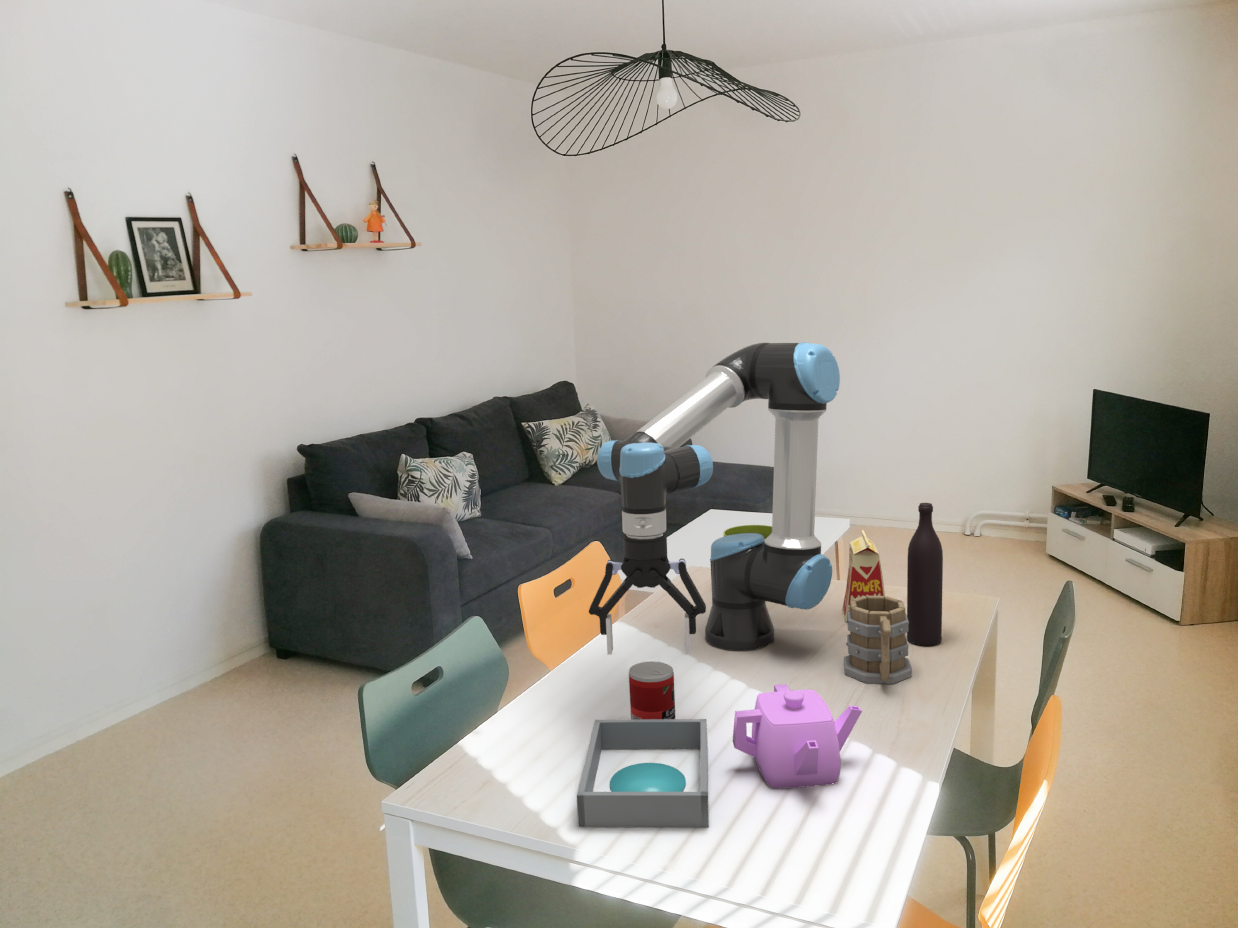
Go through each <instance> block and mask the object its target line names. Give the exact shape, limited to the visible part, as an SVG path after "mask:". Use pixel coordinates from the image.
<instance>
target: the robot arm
mask: <svg viewBox="0 0 1238 928" xmlns="http://www.w3.org/2000/svg"><path fill="white" fill-rule="evenodd" d="M840 380H841V377H840V368H839V364H838V361H837V359H836V357H835V356H834V355H833V352H832V351H831V350H830V349H829V347H827V346H826V345H824V344H820V343H811V342H759V343H753V344H751V345H748V346H745V347H743V348H741V349H738V350H737V351H735V352H733V353H731V354H729V355H727V356H725V357H724V358H723V359H721V360H720V361H719V362H717V363H716V364H714V365H713V366H712V367H710V368H709V369H708V371H707V372H706V374H705V378H704V379H703V380H702V381H700V382H699V383H698V384H696V385H695V386H693V388H691V389H690V390H688V391H687V392H686V393H685V394H684V395H682V396H681V397H680V398H678V399H676V401H674V402H673V403H672V404H670V405H669V406H667V408H665V409H664V410H662V411H661V412H660V413H658V415H655V417H653V418H652V419H651V420H650V421H648V422H647V423H646V424H645V425H643V426H642V427H640V428H639V429H638V430H637V431H635V432H634V433H632V434H631V435H630V436H628V437H627V438H626V439H623V440H620V439H616V440H608V441H606V442H604V443H603V445H601V446H600V449H599V450H598V453H597V457H596V462H597V468H598V470H599V472H600V474H601V475H602V477H604V478H605V479H607V480H612V481H616V482H619V483H620V494H621V518H622V519H621V522H622V523H621V524H622V525H621V526H622V532H623V534H624V536H623V537H622V546H623V547H622V549H623V550H622V551H623V560H622V562H617V561H614V560H613V559H609V560H607V562H606V564H605V571H604V576H603V578H602V580H601V582H600V585H599V587H598V589H597V590H596V593H595V595H594V598H593V599H592V602H591V604H590V605H589V609H588V613H589V614H590V616H591V615H592V616H597V617H598V618H599V631H600V634H601V636H606V650H607V651H606V653H607V655H612V654H613V651H614V639H613V637H614V636H613V618H612V616H613V615H612V613H610V612H611V611H612V610H613V608H614V607H615V606H616V605H617V604H618V603H619V601H620V600H621V599H622V598H623V597H624V595H625V594H626V593H627V592H628V591H629V590H630V589H631V588H632V586H634V587H637V589H642V588H650V589H651V588H656V587H659V586H660V587H661V588H662V589H663V590H664V591H665V592H666V593H667V594H668V595H669V596H670V597H671V599H673V600H674V601H675V602H676V604H678V606H680V608H681V609H682V610H683V611H684V641H685V642H684V647H685V649H684V651H685V655H690V654H691V641H690V640H691V637H690V636H691V635H695V634H696V632H697V619H696V618H697V617H698V615H700V614H701V615H703V614H706V611H707V604H706V603H705V601H704V599H703V597H702V595H701V594H700V592H699V590H698V588H697V587H696V584H695V582H694V581H693V579H692V577H691V576H690V574H689V572H688V570H687V563H686V562H687V561H686V560H685V558H680V559H678V560H675V561H670V560H669V558H668V536H667V535H666V533H665V532H666V531H667V505H666V504H667V503H666V502H667V501H666V500H667V499H666V495H670V494H674V493H678V492H679V493H680V492H684V491H687V490H693V489H696V488H697V487H700V486H703V485H704V484H706V483H707V482H709V480H710V479H711V477H712V475H713V472H714V463H713V462H714V460H713V458H712V456H711V454H710V452H709V451H708V449H706V448H705V447H703V446H702V445H699V444H686V442H687V441H689V440H690V439H691V438H692V437H693V436H695V435H696V434H698V432H701V430H702V429H703V428H704V427H706V426H707V425H709V424H710V423H711V422H713V420H714V419H716V418H717V417H718V416H720V415H721V414H722V413H723V412H724V411H726V410H728V408H730V409H731V408H732V409H733V408H736V407H738V406H739V405H741V404H742V403H743V402H745V401H749V400H756V399H759V400H760V399H761V400H768V401H767V405H768V406H767V410H768V411H769V412H770V414H771V415H773V416H774V419H775V422H774V425H775V426H774V450H773V451H774V452H773V454H774V456H773V486H772V487H773V488H772V489H773V490H772V518H771V519H772V520H771V523H772V524H771V526H772V533H771V534H770V535H769V536H768V537H767V538H766V539H765V540H764V536H763V535H761V534H757V533H743V534H735V535H729V536H725V537H724V536H722V537H718V539H715V540H714V541H713V542H712V544H711V546H710V558H709V561H710V581H711V600H712V601H711V608H710V610H709V611H710V612H709V613H708V617H707V622H706V625H705V626H704V627H705V628H704V629H705V630H704V634H705V637H704V638H705V640H706V642H707V643H708V644H709V645H711V646H713V647H715V648H718V649H721V650H726V651H728V650H729V651H751V650H752V651H753V650H757V649H758V650H759V649H762V648H765V647H768V645H771V644H772V643H773V642H774V640H775V627H774V623H773V621H772V618H771V615H770V613H769V610H768V608H767V603H766V602H769V603H773V604H776V605H777V604H778V605H781V606H785V607H788V608H791V609H799V610H800V609H801V610H811V609H813V608H816V607H817V606H818V605H819V604H820V603H821V602H822V601H823V599H824V598H825V596H826V595H827V593H828V590H830V589H829V588H830V585H831V583H832V582H831V581H832V579H833V578H832V577H833V565H832V562H831V560H830V558H829V557H827V556H826V555H825V554H822V542H821V541H820V540H819V538H818V537H817V536H815V519H816V518H815V517H816V495H817V494H816V493H817V492H816V491H817V489H816V488H817V467H818V466H817V465H818V464H817V463H818V437H819V436H818V435H819V419H820V418H821V416H823V415H824V414H825V413H826V412H827V404H828V403H830V402H832V401H833V400H834V399H835V398H836V396H837V394H838V393H837V392H838V391H839V389H840V383H841V381H840ZM684 444H685V445H684ZM683 445H684V446H683ZM670 570H673V571H674V573H675V574H677V575H679V577H680V580H681V581H682V583H683V585H684V587H685V589H686V590H687V592H688V594H689V596H690V598H691V600H692V602H693V603H694V605H693V604H692V602H691V601H690V600H688V599H687V597H686V596H685V595H684V594H683V593H682V592H681V591H680V590H679V588H677V587H676V585H675V584H674V583H673V582H672V581H671V579H670V578H669V577H668V576H667V574H668V573H669V572H670ZM619 571H621V572H622V573H623V574H624V575H625V578H624V580H623V581H622V583H620V585H619V586H618V587H617V588H616V590H615V591H614V592H613V594H612V595H611V596H610V597H609V598H608V600H607V601H605V603H604V605H603V606H600V604H601V601H602V600H603V597H604V596H605V593H606V591H607V588H608V587H609V585H610V584H611V583H610V582H611V580H612V577H613V576H615V575H617V574H618V572H619Z"/></svg>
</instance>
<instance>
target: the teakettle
mask: <svg viewBox="0 0 1238 928" xmlns="http://www.w3.org/2000/svg"><path fill="white" fill-rule="evenodd" d="M789 687H790V686H788V684H787V683H781V684H773V691H767V692H760V693H758V694H757V695H756V699H755V705H754V709H745V710H736V711H734V719H733V731H732V745H733V748H734V749H735V750H737V751H740V752H742V753H744V754H747V755H749V756H751V757H754V760H755V763H756V766H757V768H758V770H759V772H760V775H761V776H762V778H763V779H764V781H765V782H766V783H767V785H768V786H769V787H771V788H773V789H788V788H803V787H804V788H806V787H807V786H808V787H816V786H815V785H819V786H827V785H826V784H828V785H833V784H832V783H834V784H836V782H837V783H838V780H839V778H840V774H841V768H842V767H841V751H842V749H843V747H844V745H846V744H845V743H846V741H847V740H848V738H849V737H850V734H851V733H852V731H853V729H854V727H855V726H856V724H857V722H858V720H859V718H860V716H861V714H862V712H863V710H862V708H861V707H860V706H856V705H848V707H846V709H845V710H844V711H843V712H842V713H841V714H840V715H839V716H838V717H837V718H836V719H835V720H834V716H833V713H832V712H831V709H830V708H829V706H828V704H827V702H826V701H825V700H824V699H823V697H822V696H821V695H820V694H819V693H818V692H817V691H816V690H814V689H796V690H795V689H793V690H791V689H790V688H789ZM748 723H749V724H750V723H751V725H752V726H751V737H750V736H749V735H747V733H748V732H747V731H748V730H747V724H748Z"/></svg>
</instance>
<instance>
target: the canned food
mask: <svg viewBox="0 0 1238 928" xmlns="http://www.w3.org/2000/svg"><path fill="white" fill-rule="evenodd" d="M674 674H675V673H674V668H673V667H672V666H671V665H670V664H667V663H665V662H661V661H643V662H639V663H636V664H634V665H632V666H631V667H630V668H629V670H628V686H629V687H628V688H629V704H630V706H629V707H630V720H632V719H676V699H675V697H676V696H675V695H676V694H675V675H674Z"/></svg>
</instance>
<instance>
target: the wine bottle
mask: <svg viewBox="0 0 1238 928" xmlns="http://www.w3.org/2000/svg"><path fill="white" fill-rule="evenodd" d="M918 512H919V518H918V525H917V527H916V530H915V531H914V533H913V535H912V537H911V539H910V541H909V543H908V549H907V569H906V570H907V575H906V576H907V580H906V581H907V582H906V584H907V585H906V587H907V588H906V590H907V593H906V597H907V598H906V615H907V618H908V621H909V624H908V632H907V633H906V639H907V642H909V643H911V644H913V645H916V646H922V647H932V646H933V647H934V646H937V645H939V644H940V643H941V642H942V637H943V636H942V630H943V629H942V628H943V578H944V577H943V572H944V571H943V570H944V566H943V565H944V559H943V558H944V555H943V554H944V553H943V552H944V551H943V546H942V543H941V541H940V538H939V536H938V534H937V533H936V530H935V529H934V526H933V512H934V506H933V504H932V503H931V502H920V503H919V505H918Z"/></svg>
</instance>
